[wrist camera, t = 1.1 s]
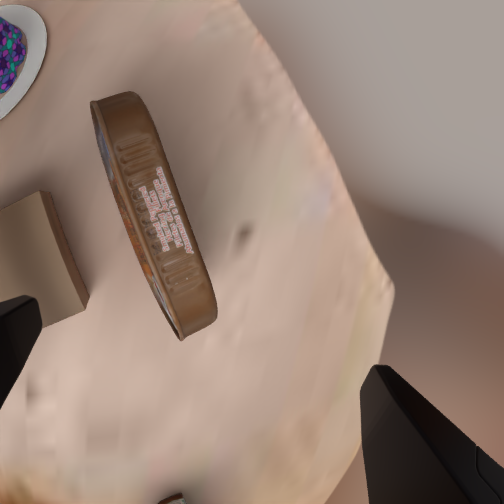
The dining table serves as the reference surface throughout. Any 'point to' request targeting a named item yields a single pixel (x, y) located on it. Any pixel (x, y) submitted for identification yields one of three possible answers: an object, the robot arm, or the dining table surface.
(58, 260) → the slotted rail
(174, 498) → the food container
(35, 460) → the dining table surface
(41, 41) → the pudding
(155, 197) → the tin
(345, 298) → the dining table surface
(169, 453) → the dining table surface
